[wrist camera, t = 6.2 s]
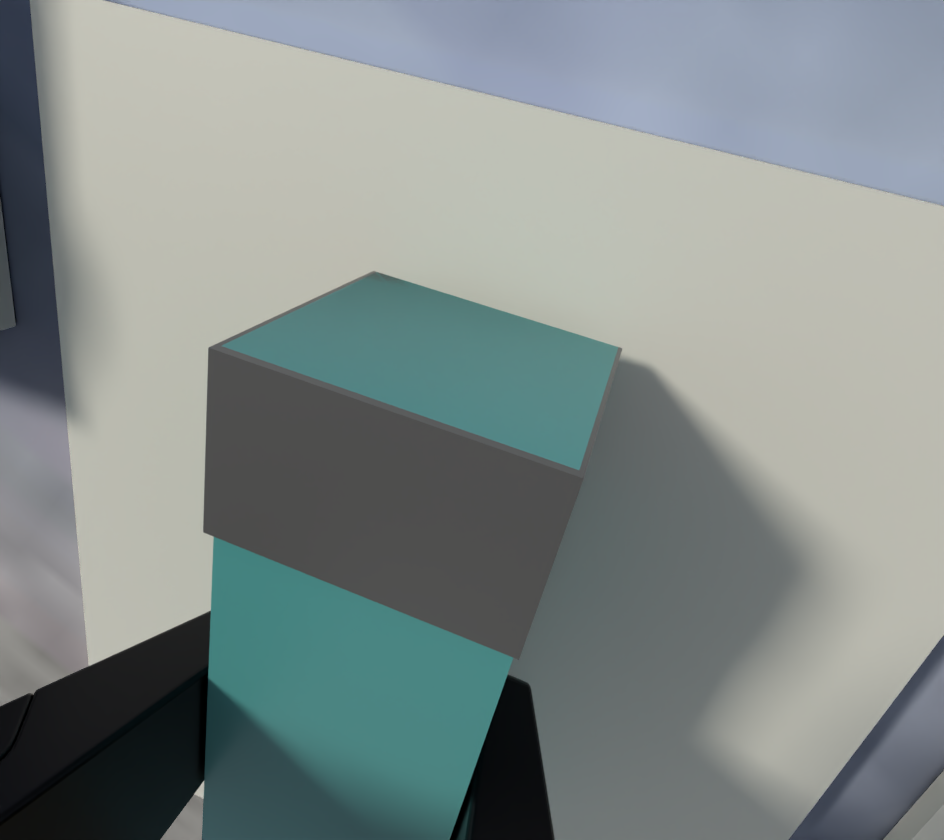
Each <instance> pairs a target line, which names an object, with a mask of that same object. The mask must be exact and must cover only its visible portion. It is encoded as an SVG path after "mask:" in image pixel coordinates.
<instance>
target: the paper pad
mask: <svg viewBox="0 0 944 840" xmlns="http://www.w3.org/2000/svg"><path fill="white" fill-rule="evenodd" d="M30 11H31V22H32V33H33V44H34V55H35V67H36V78H37V89H38V100H39V112H40V123H41V134H42V145H43V157H44V168H45V179H46V190H47V202H48V213H49V224H50V235H51V247H52V258H53V269H54V280H55V292H56V303H57V314H58V325H59V336H60V348H61V359H62V370H63V381H64V393H65V404H66V415H67V426H68V438H69V449H70V460H71V471H72V483H73V494H74V505H75V516H76V528H77V539H78V550H79V561H80V572H81V584H82V595H83V606H84V617H85V629H86V640H87V651H88V662H89V666H90V665H92V664H95V663H97V662H99V661H101V660H103V659H106V658H108V657H110V656H112V655H114V654H116V653H119V652H121V651H123V650H125V649H127V648H130V647H132V646H134V645H136V644H138V643H141V642H143V641H145V640H147V639H149V638H152V637H154V636H156V635H158V634H160V633H162V632H165V631H167V630H169V629H171V628H173V627H176V626H178V625H180V624H182V623H184V622H187V621H189V620H191V619H193V618H195V617H198V616H200V615H202V614H204V613H206V612H208V611H211V591H212V565H213V539H214V537H213V536H211V535H208V534H206V533H203V517H204V482H205V447H206V411H207V376H208V348H209V347H211V346H213V345H215V344H217V343H219V342H221V341H224V340H226V339H228V338H230V337H232V336H234V335H236V334H239V333H241V332H243V331H245V330H247V329H249V328H252V327H254V326H256V325H258V324H260V323H262V322H264V321H267V320H269V319H271V318H273V317H275V316H277V315H279V314H282V313H284V312H286V311H288V310H290V309H292V308H295V307H297V306H299V305H301V304H303V303H305V302H307V301H310V300H312V299H314V298H316V297H318V296H320V295H322V294H325V293H327V292H329V291H331V290H333V289H335V288H338V287H340V286H342V285H344V284H346V283H348V282H350V281H353V280H355V279H357V278H359V277H361V276H363V275H365V274H368V273H370V272H372V271H376V272H379V273H382V274H385V275H389V276H392V277H395V278H398V279H401V280H405V281H408V282H411V283H414V284H417V285H421V286H424V287H427V288H430V289H434V290H437V291H440V292H443V293H446V294H450V295H453V296H456V297H459V298H462V299H466V300H469V301H472V302H475V303H479V304H482V305H485V306H488V307H491V308H495V309H498V310H501V311H504V312H507V313H511V314H514V315H517V316H520V317H523V318H527V319H530V320H533V321H536V322H540V323H543V324H546V325H549V326H552V327H556V328H559V329H562V330H565V331H568V332H572V333H575V334H578V335H581V336H585V337H588V338H591V339H594V340H597V341H601V342H604V343H607V344H610V345H613V346H617V347H620V348H622V352H621V355H620V358H619V362H618V365H617V368H616V372H615V375H614V379H613V382H612V385H611V389H610V392H609V395H608V399H607V402H606V405H605V409H604V412H603V415H602V419H601V422H600V426H599V429H598V432H597V436H596V439H595V442H594V446H593V449H592V452H591V456H590V459H589V462H588V466H587V469H586V473H585V476H584V479H583V482H582V485H581V488H580V490H579V493H578V496H577V499H576V501H575V504H574V507H573V510H572V513H571V515H570V518H569V521H568V524H567V527H566V529H565V532H564V535H563V538H562V541H561V543H560V546H559V549H558V552H557V555H556V557H555V560H554V563H553V566H552V569H551V571H550V574H549V577H548V580H547V583H546V585H545V588H544V591H543V594H542V597H541V599H540V602H539V605H538V608H537V611H536V613H535V616H534V619H533V622H532V624H531V627H530V630H529V633H528V636H527V638H526V641H525V644H524V647H523V650H522V652H521V655H520V658H519V660H518V659H515V658H513V660H512V663H511V666H510V669H509V672H508V675H511V676H513V677H516V678H518V679H520V680H523V681H525V682H527V683H528V684H529V685H530V687H531V690H532V697H533V703H534V709H535V716H536V722H537V729H538V735H539V741H540V748H541V754H542V760H543V767H544V773H545V780H546V786H547V792H548V799H549V805H550V812H551V818H552V824H553V831H554V837H555V840H789V838H790V837H791V836H792V834H793V833H794V832H795V831H796V829H797V828H798V827H799V825H800V824H801V823H802V821H803V820H804V819H805V817H806V816H807V815H808V813H809V812H810V811H811V809H812V808H813V807H814V805H815V804H816V803H817V801H818V800H819V799H820V798H821V796H822V795H823V794H824V792H825V791H826V790H827V788H828V787H829V786H830V784H831V783H832V782H833V780H834V779H835V778H836V776H837V775H838V774H839V772H840V771H841V770H842V768H843V767H844V766H845V765H846V763H847V762H848V761H849V759H850V758H851V757H852V755H853V754H854V753H855V751H856V750H857V749H858V747H859V746H860V745H861V743H862V742H863V741H864V739H865V738H866V737H867V735H868V734H869V733H870V732H871V730H872V729H873V728H874V726H875V725H876V724H877V722H878V721H879V720H880V718H881V717H882V716H883V714H884V713H885V712H886V710H887V709H888V708H889V706H890V705H891V704H892V702H893V701H894V700H895V699H896V697H897V696H898V695H899V693H900V692H901V691H902V689H903V688H904V687H905V685H906V684H907V683H908V681H909V680H910V679H911V677H912V676H913V675H914V673H915V672H916V671H917V669H918V668H919V667H920V666H921V664H922V663H923V662H924V660H925V659H926V658H927V656H928V655H929V654H930V652H931V651H932V650H933V648H934V647H935V646H936V644H937V643H938V642H939V640H940V639H941V638H942V636H943V635H944V206H942V205H938V204H934V203H930V202H926V201H922V200H918V199H914V198H910V197H905V196H901V195H897V194H893V193H889V192H885V191H881V190H877V189H873V188H869V187H865V186H861V185H856V184H852V183H848V182H844V181H840V180H836V179H832V178H828V177H824V176H820V175H816V174H812V173H808V172H803V171H799V170H795V169H791V168H787V167H783V166H779V165H775V164H771V163H767V162H763V161H759V160H754V159H750V158H746V157H742V156H738V155H734V154H730V153H726V152H722V151H718V150H714V149H710V148H705V147H701V146H697V145H693V144H689V143H685V142H681V141H677V140H673V139H669V138H665V137H661V136H656V135H652V134H648V133H644V132H640V131H636V130H632V129H628V128H624V127H620V126H616V125H612V124H608V123H603V122H599V121H595V120H591V119H587V118H583V117H579V116H575V115H571V114H567V113H563V112H559V111H554V110H550V109H546V108H542V107H538V106H534V105H530V104H526V103H522V102H518V101H514V100H510V99H505V98H501V97H497V96H493V95H489V94H485V93H481V92H477V91H473V90H469V89H465V88H461V87H456V86H452V85H448V84H444V83H440V82H436V81H432V80H428V79H424V78H420V77H416V76H412V75H408V74H403V73H399V72H395V71H391V70H387V69H383V68H379V67H375V66H371V65H367V64H363V63H359V62H354V61H350V60H346V59H342V58H338V57H334V56H330V55H326V54H322V53H318V52H314V51H310V50H305V49H301V48H297V47H293V46H289V45H285V44H281V43H277V42H273V41H269V40H265V39H261V38H256V37H252V36H248V35H244V34H240V33H236V32H232V31H228V30H224V29H220V28H216V27H212V26H208V25H203V24H199V23H195V22H191V21H187V20H183V19H179V18H175V17H171V16H167V15H163V14H159V13H154V12H150V11H146V10H142V9H138V8H134V7H130V6H126V5H122V4H118V3H114V2H110V1H105V0H30ZM195 795H197V796H199V797H201V798H203V799H204V781H203V783H202V784H201V785H200V787H199V788H198V789H197V791H196V792H195Z"/></svg>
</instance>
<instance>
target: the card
mask: <svg viewBox="0 0 944 840" xmlns="http://www.w3.org/2000/svg"><path fill="white" fill-rule="evenodd" d="M883 840H944V771H943V772H942V773H941V774H940V775H939V776H938V777H937V779H936V780H935V781H934V782H933V783H932V784H931V785H930V787H929V788H928V789H927V790H926V791H925V792H924V793H923V795H922V796H921V797H920V798H919V799H918V800H917V801H916V803H915V804H914V805H913V806H912V807H911V808H910V809H909V811H908V812H907V813H906V814H905V815H904V816H903V817H902V819H901V820H900V821H899V822H898V823H897V824H896V825H895V827H894V828H893V829H892V830H891V831H890V832H889V833H888V835H887V836H886V837H885V838H884V839H883Z"/></svg>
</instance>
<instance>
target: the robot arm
mask: <svg viewBox="0 0 944 840" xmlns="http://www.w3.org/2000/svg"><path fill="white" fill-rule="evenodd" d="M210 618H211V611H208V612H206V613H204V614H202V615H200V616H198V617H195V618H193V619H191V620H189V621H187V622H184V623H182V624H180V625H178V626H176V627H173V628H171V629H169V630H167V631H165V632H162V633H160V634H158V635H156V636H154V637H152V638H149V639H147V640H145V641H143V642H141V643H138V644H136V645H134V646H132V647H130V648H127V649H125V650H123V651H121V652H119V653H116V654H114V655H112V656H110V657H108V658H106V659H103V660H101V661H99V662H97V663H95V664H92V665H90V666H88V667H86V668H84V669H81V670H79V671H77V672H75V673H73V674H70V675H68V676H66V677H64V678H62V679H60V680H57V681H55V682H53V683H51V684H49V685H46V686H44V687H42V688H40V689H38V690H36V691H35V693H34V695H33V694H31V693H29V694H26V695H24V696H22V697H20V698H17V699H15V700H13V701H11V702H9V703H6V704H4V705H2V706H0V840H160V839H161V838H162V836H163V835H164V834H165V832H166V831H167V830H168V828H169V827H170V826H171V824H172V823H173V822H174V820H175V819H176V818H177V816H178V815H179V814H180V812H181V811H182V810H183V808H184V807H185V806H186V804H187V803H188V802H189V800H190V799H191V798H192V796H193V795H194V794H195V792H196V791H197V789H198V788H199V787H200V785H201V784H202V783H203V781H204V775H205V748H206V722H207V696H208V670H209V644H210ZM450 840H555V837H554V831H553V824H552V818H551V812H550V805H549V799H548V792H547V786H546V780H545V773H544V767H543V760H542V754H541V748H540V741H539V735H538V729H537V722H536V716H535V709H534V703H533V697H532V690H531V687H530V685H529V684H528V683H527V682H525V681H523V680H520V679H518V678H516V677H513V676H511V675H507V678H506V680H505V683H504V686H503V689H502V692H501V695H500V697H499V700H498V703H497V706H496V709H495V712H494V715H493V717H492V720H491V723H490V726H489V729H488V732H487V734H486V737H485V740H484V743H483V746H482V749H481V752H480V754H479V757H478V760H477V763H476V766H475V769H474V771H473V774H472V777H471V780H470V783H469V786H468V788H467V791H466V794H465V797H464V800H463V803H462V806H461V808H460V811H459V814H458V817H457V820H456V823H455V825H454V828H453V831H452V834H451V837H450Z"/></svg>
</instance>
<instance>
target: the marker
mask: <svg viewBox="0 0 944 840" xmlns="http://www.w3.org/2000/svg"><path fill="white" fill-rule="evenodd" d="M621 352H622V348H620V347H617V346H613V345H610V344H607V343H604V342H601V341H597V340H594V339H591V338H588V337H585V336H581V335H578V334H575V333H572V332H568V331H565V330H562V329H559V328H556V327H552V326H549V325H546V324H543V323H540V322H536V321H533V320H530V319H527V318H523V317H520V316H517V315H514V314H511V313H507V312H504V311H501V310H498V309H495V308H491V307H488V306H485V305H482V304H479V303H475V302H472V301H469V300H466V299H462V298H459V297H456V296H453V295H450V294H446V293H443V292H440V291H437V290H434V289H430V288H427V287H424V286H421V285H417V284H414V283H411V282H408V281H405V280H401V279H398V278H395V277H392V276H389V275H385V274H382V273H379V272H376V271H372V272H370V273H368V274H365V275H363V276H361V277H359V278H357V279H355V280H353V281H350V282H348V283H346V284H344V285H342V286H340V287H338V288H335V289H333V290H331V291H329V292H327V293H325V294H322V295H320V296H318V297H316V298H314V299H312V300H310V301H307V302H305V303H303V304H301V305H299V306H297V307H295V308H292V309H290V310H288V311H286V312H284V313H282V314H279V315H277V316H275V317H273V318H271V319H269V320H267V321H264V322H262V323H260V324H258V325H256V326H254V327H252V328H249V329H247V330H245V331H243V332H241V333H239V334H236V335H234V336H232V337H230V338H228V339H226V340H224V341H221V342H219V343H217V344H215V345H213V346H211V347H209V348H208V376H207V411H206V447H205V482H204V517H203V533H206V534H208V535H211V536H213V537H214V539H213V565H212V591H211V618H210V644H209V670H208V696H207V722H206V748H205V775H204V801H203V827H202V840H450V837H451V834H452V831H453V828H454V825H455V823H456V820H457V817H458V814H459V811H460V808H461V806H462V803H463V800H464V797H465V794H466V791H467V788H468V786H469V783H470V780H471V777H472V774H473V771H474V769H475V766H476V763H477V760H478V757H479V754H480V752H481V749H482V746H483V743H484V740H485V737H486V734H487V732H488V729H489V726H490V723H491V720H492V717H493V715H494V712H495V709H496V706H497V703H498V700H499V697H500V695H501V692H502V689H503V686H504V683H505V680H506V678H507V675H508V672H509V669H510V666H511V663H512V660H513V658H515V659H518V660H519V658H520V655H521V652H522V650H523V647H524V644H525V641H526V638H527V636H528V633H529V630H530V627H531V624H532V622H533V619H534V616H535V613H536V611H537V608H538V605H539V602H540V599H541V597H542V594H543V591H544V588H545V585H546V583H547V580H548V577H549V574H550V571H551V569H552V566H553V563H554V560H555V557H556V555H557V552H558V549H559V546H560V543H561V541H562V538H563V535H564V532H565V529H566V527H567V524H568V521H569V518H570V515H571V513H572V510H573V507H574V504H575V501H576V499H577V496H578V493H579V490H580V488H581V485H582V482H583V479H584V476H585V473H586V469H587V466H588V462H589V459H590V456H591V452H592V449H593V446H594V442H595V439H596V436H597V432H598V429H599V426H600V422H601V419H602V415H603V412H604V409H605V405H606V402H607V399H608V395H609V392H610V389H611V385H612V382H613V379H614V375H615V372H616V368H617V365H618V362H619V358H620V355H621Z"/></svg>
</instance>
